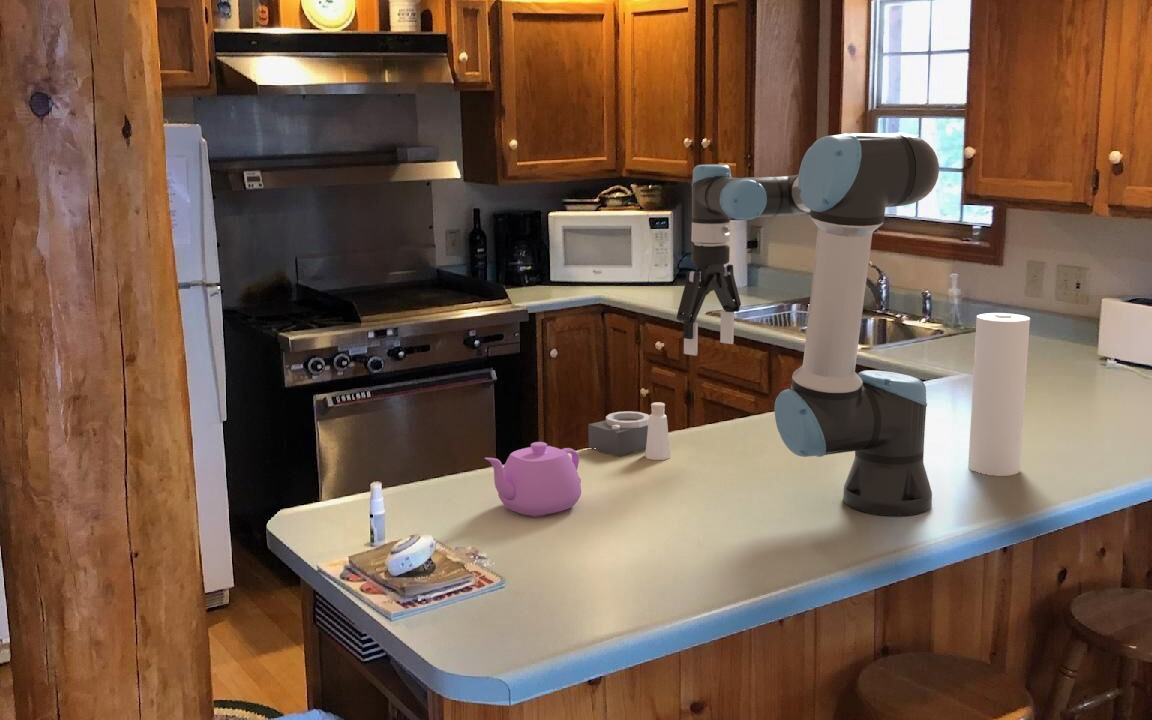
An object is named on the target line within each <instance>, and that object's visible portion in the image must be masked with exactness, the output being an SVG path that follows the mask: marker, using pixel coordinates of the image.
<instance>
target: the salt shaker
mask: <svg viewBox="0 0 1152 720" xmlns="http://www.w3.org/2000/svg"><path fill="white" fill-rule="evenodd" d="M650 407H651V409H650V410H651V414H648V415H649V422H648V432H647V442H646V450H645V451H644V456H645V459H647V460H652V461H665V460H667V459H670V458H671V448H670V438H669V426H668V425H667V421H668V417H667V415H666V414H665V407H666V404H665V402H661V401H659V402H651V404H650Z"/></svg>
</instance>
